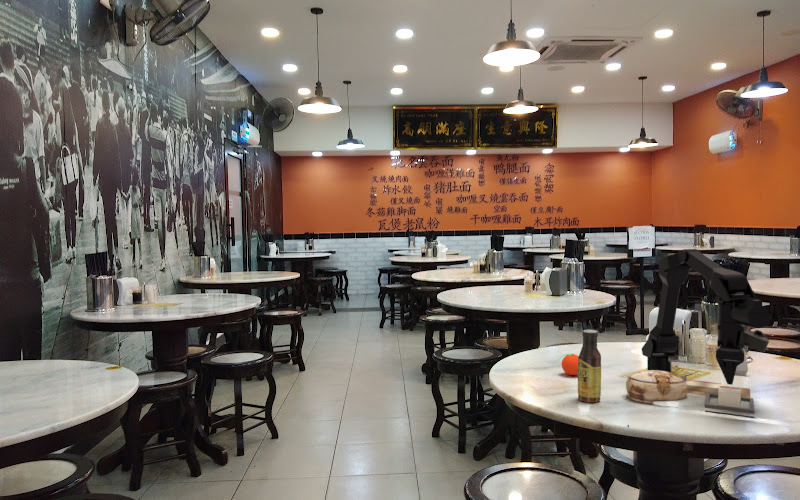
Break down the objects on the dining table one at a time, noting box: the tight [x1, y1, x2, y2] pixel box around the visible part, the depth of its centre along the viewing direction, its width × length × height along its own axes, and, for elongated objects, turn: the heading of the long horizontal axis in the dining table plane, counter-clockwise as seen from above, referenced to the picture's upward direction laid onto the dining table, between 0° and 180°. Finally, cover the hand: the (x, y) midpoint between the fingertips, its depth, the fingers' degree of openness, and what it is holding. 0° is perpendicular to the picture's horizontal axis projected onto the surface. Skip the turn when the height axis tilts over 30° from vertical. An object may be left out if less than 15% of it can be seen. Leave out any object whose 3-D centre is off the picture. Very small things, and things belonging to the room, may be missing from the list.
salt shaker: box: [734, 348, 749, 377], centre depth 181 cm, size 6×6×13 cm
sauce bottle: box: [577, 329, 602, 404], centre depth 160 cm, size 7×6×20 cm
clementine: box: [558, 353, 579, 376], centre depth 186 cm, size 8×7×7 cm
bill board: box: [679, 375, 752, 398], centre depth 163 cm, size 18×12×4 cm, turn 60°
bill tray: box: [704, 393, 755, 419], centre depth 151 cm, size 11×11×2 cm
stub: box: [717, 385, 742, 408], centre depth 150 cm, size 5×6×5 cm
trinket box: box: [625, 370, 688, 404], centre depth 160 cm, size 13×15×8 cm
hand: (730, 379), depth 150 cm, fingers open, 9 cm apart
